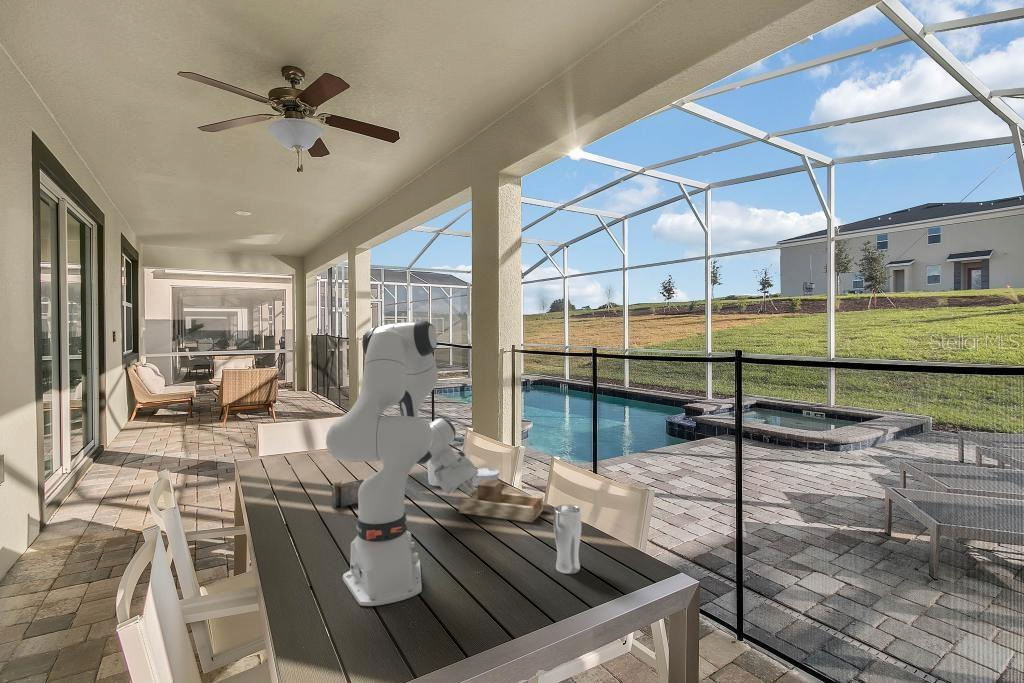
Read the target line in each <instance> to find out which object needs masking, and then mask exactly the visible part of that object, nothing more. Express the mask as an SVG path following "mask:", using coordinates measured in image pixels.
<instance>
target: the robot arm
mask: <svg viewBox="0 0 1024 683" xmlns="http://www.w3.org/2000/svg"><path fill="white" fill-rule="evenodd" d="M361 341H362V342H361V343H362V344H361V345H362V350H363V353H364V355H365V357H364V364H363V374H362V381H361V387H360V391H359V395H358V397H357V399H356V401H355V403H354V404H353V405H352V407H351V408H350V409H349V411H347V413H346V414H344V415H343V416H342V417H341V418H339V419H337V420H336V421H334V422H333V423H332V425H330V427H329V429H328V430H327V434H326V438H325V439H326V440H325V445H326V449H327V451H328V453H329V455H330V456H331V457H332V459H334V460H336V461H337V460H338V461H342V462H348V463H349V462H350V463H366V462H367V463H369V462H371V463H372V462H382V469H380V470H379V471H378V472H375V473H373V474H372V475H370V476H368V477H367V478H365V479H363V480H364V481H363V482H362V484H361V485H360V487H359V490H358V503H357V504H358V516H357V519H356V525H355V526H356V534H357V535H356V537H355V538H354V539H353V541H352V542H351V543H350V565H349V566H350V570H347V571H346V572H344V573H343V575H342V581H343V583H344V584H345V586H346V587H347V588H348V591H350V593H351V595H352V596H353V597H354V599H355V600H356V602H357V603H358V604H359V606H363V607H374V606H375V607H376V606H382V605H387V604H392V603H397V602H400V601H404V600H407V599H410V598H412V597H416V595H417V596H418V595H419V594H421V592H422V591H423V587H422V573H421V572H422V571H421V560H420V559H419V552H412V549H414V548H415V546H416V544H415V541H412V533H411V532H410V531H409V530H408V525H407V524H408V523H407V522H408V520H407V516H406V515H407V514H406V511H405V491H406V483H407V481H408V480H407V479H408V477H409V474H410V472H411V471H412V469H413V467H414V466H415V465H416V464H417V465H425V464H427V461H428V460H430V462H431V464H432V465H433V467H434V468H435V470H434V475H435V477H436V480H437V482H438V483H439V485H440V486H439V487H440V488H441V489H442V491H443V492H444V493H445V494H447V495H450V494H451V493H452V492H454V491H456V490H457V489H460V491H462V492H464V493H466V494H467V496H468V497H471V495H472V494H474V493H475V492H476V490H475V489H476V488H474V485H473V481H472V479H473V478H474V477H475V476H476V475H477V474H478V470H477V469H478V468H477V467H476V466H475V464H474V463H473V462H472V461H471V459H470V458H468V457H467V454H466V453H465V451H461V450H459V451H458V450H454V449H453V448H452V447H451V446H450V445H451V443H453V441H454V440H455V439H456V428H455V426H454V425H453V423H452V422H451V420H449V419H446V418H444V417H438V418H437V419H435V420H433V421H431V422H428V421H427V420H426V419H425V418H422V417H419V415H418V414H419V410H420V408H421V406H422V404H423V402H424V401H425V399H426V398H427V397H428V396H429V394H431V392H433V390H434V389H435V387H436V385H437V384H438V380H439V371H438V366H437V363H436V360H435V358H434V355H433V352H434V351H435V350H436V349H437V345H438V335H437V332H436V329H435V327H434V325H433V324H432V323H430V322H429V321H428V320H416V321H405V322H404V321H403V322H393V323H389V324H385V325H381V326H374V327H371V328H369V329H368V330H366V331H365V333H364V335H363V336H362V340H361ZM398 403H399V404H398ZM397 404H398V405H399V412H400V415H398V416H397V415H395V416H394V415H393V416H382V415H383V413H384V412H385V411H386V410H387V409H389V408H391V407H393V406H395V405H397ZM435 472H436V473H435Z"/></svg>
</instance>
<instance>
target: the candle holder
mask: <svg viewBox="0 0 1024 683" xmlns="http://www.w3.org/2000/svg"><path fill="white" fill-rule="evenodd" d="M426 464H427V474H428V476H427V478H428V484H429V485H430V486H431V485H432V486H431V487H440V485H439V483H438V482H437V480H436V477H435V475H434V470H435V468H434V467H433V465H432V464H431V462H430V460H428V461H427V462H426ZM435 473H436V472H435Z"/></svg>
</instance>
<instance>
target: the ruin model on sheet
mask: <svg viewBox="0 0 1024 683" xmlns="http://www.w3.org/2000/svg"><path fill="white" fill-rule="evenodd" d="M364 480H365V479H357V480H353V481H348V482H345V483H342V480H340V481H337V482H336V481H335V482H334V483H333V484H332V486H331V505H332V506H331V507H332V508H333V509H337V506H340V507H341V508H342V507H343V508H344V507H347V506H351V505H355V504H358V490H359V487H360V485H361V484H362V482H363V481H364Z"/></svg>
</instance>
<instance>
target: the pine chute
mask: <svg viewBox="0 0 1024 683" xmlns="http://www.w3.org/2000/svg"><path fill="white" fill-rule="evenodd" d="M474 489H475V490H476V492H475V493H474V494H472V495H471V496H470V497H471V498H466V497H460V498H458V513H460V514H466V515H467V514H468V515H473V516H475V515H476V516H481V517H488V518H496V519H503V520H511V521H517V522H524V523H534V522H535V520H536V519H537V518H538V517H539V516H540V514H541V513H543V511H544V497H543V496H536V495H530V494H529V495H527V494H519V493H513V492H511V493H510V492H502V503H500V502H492V501H484V500H478V488H477V489H476V488H474Z"/></svg>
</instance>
